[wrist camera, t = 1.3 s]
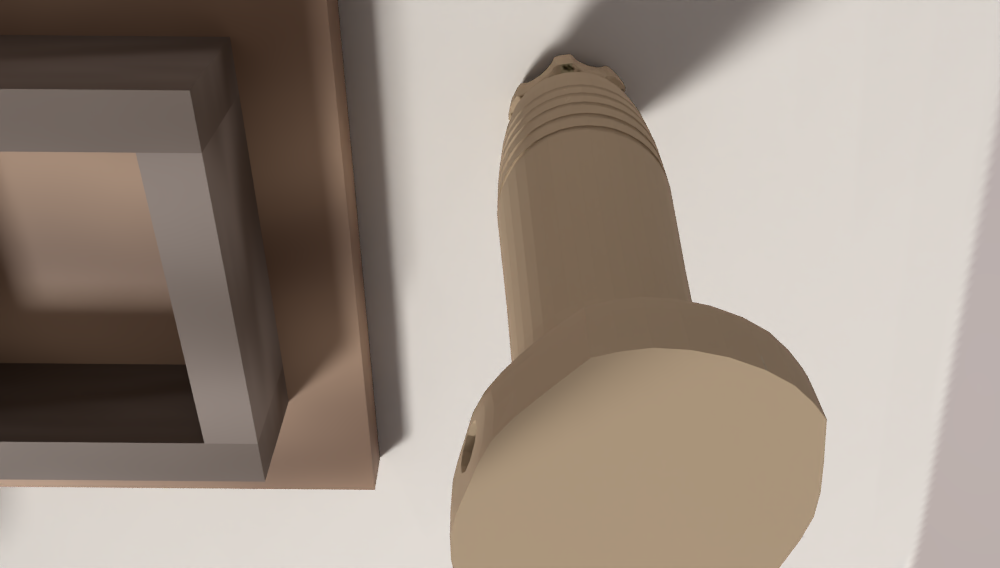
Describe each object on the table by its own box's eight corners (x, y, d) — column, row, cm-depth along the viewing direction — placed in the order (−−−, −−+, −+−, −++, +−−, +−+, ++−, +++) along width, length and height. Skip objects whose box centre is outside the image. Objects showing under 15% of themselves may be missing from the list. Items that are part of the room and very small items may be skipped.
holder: (-347, -154, 22) (-548, -112, 18) (323, -148, 22) (281, -105, 18) (-64, 455, 33) (-146, 568, 29) (379, 458, 33) (361, 572, 29)
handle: (697, 24, 24) (902, 404, 12) (607, 225, 28) (691, 684, 15) (523, -34, 23) (544, 307, 11) (453, 180, 27) (407, 627, 14)
